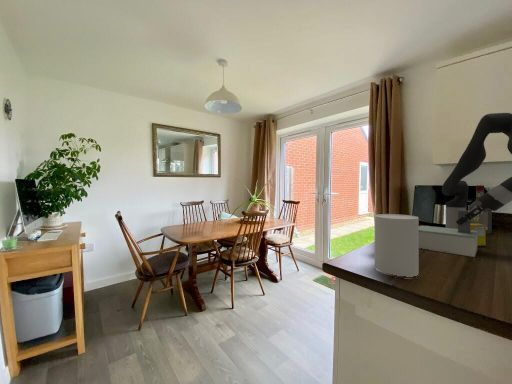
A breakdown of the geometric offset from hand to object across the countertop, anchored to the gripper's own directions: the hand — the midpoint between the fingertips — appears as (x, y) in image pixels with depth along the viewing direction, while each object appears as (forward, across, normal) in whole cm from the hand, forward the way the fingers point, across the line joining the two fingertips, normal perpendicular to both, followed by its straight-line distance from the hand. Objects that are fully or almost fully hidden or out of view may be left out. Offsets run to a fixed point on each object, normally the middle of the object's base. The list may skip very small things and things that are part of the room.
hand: (458, 223), depth 104 cm
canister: (+18, +48, 0) cm, 52 cm away
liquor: (+6, -59, +13) cm, 61 cm away
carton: (+13, 0, +6) cm, 14 cm away
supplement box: (+6, -17, +12) cm, 22 cm away
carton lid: (+7, 0, 0) cm, 7 cm away
